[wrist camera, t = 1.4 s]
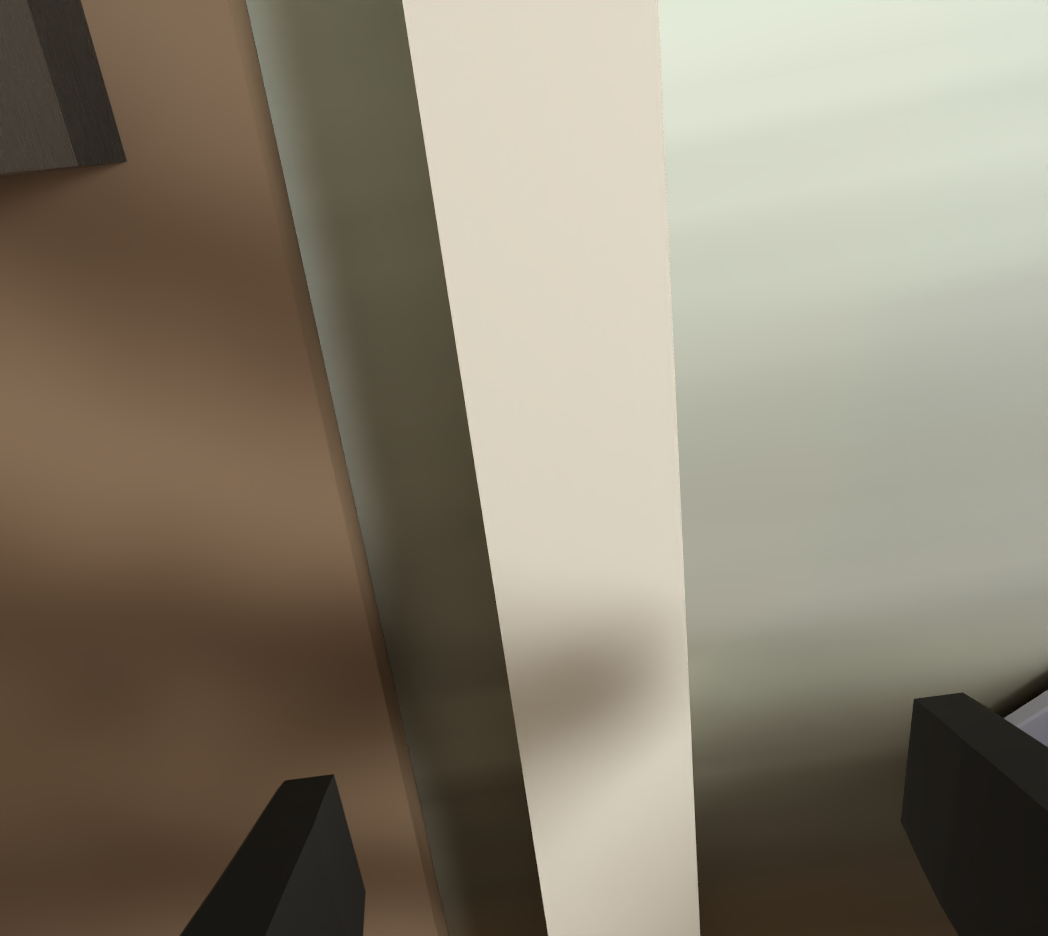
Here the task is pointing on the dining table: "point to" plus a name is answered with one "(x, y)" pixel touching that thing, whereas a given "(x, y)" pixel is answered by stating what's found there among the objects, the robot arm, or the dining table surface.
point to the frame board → (178, 515)
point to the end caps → (52, 91)
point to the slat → (573, 428)
